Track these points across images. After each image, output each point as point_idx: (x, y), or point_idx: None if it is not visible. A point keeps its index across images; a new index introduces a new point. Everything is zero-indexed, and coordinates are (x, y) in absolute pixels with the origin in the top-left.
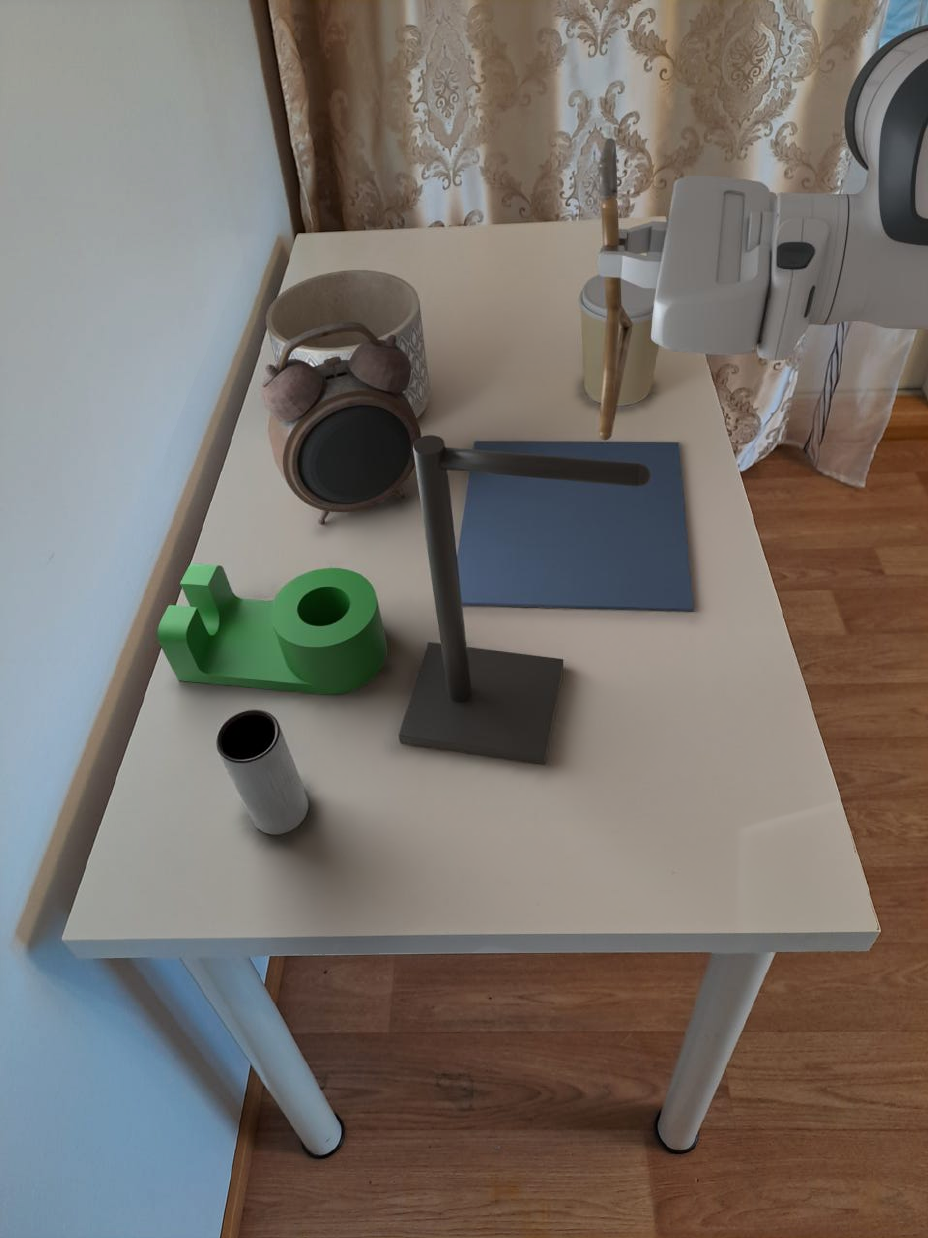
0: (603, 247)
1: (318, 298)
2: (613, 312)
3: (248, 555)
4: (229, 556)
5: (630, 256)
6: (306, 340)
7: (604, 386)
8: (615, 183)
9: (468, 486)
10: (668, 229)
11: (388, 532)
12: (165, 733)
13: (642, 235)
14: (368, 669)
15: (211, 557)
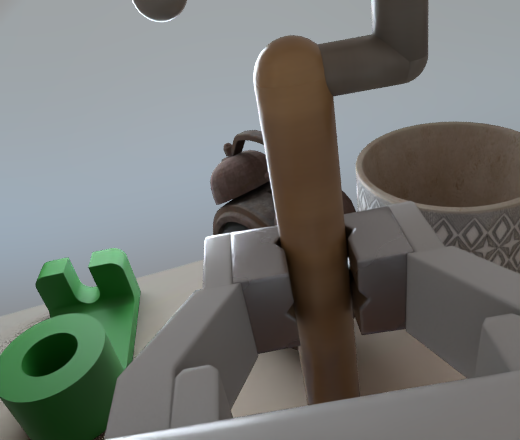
0: (264, 228)
1: (480, 147)
2: None
3: (201, 285)
4: (198, 275)
5: (178, 315)
6: (247, 138)
7: None
8: (390, 2)
9: None
10: (426, 389)
11: (257, 373)
12: (10, 324)
13: (469, 313)
14: (33, 437)
15: (195, 266)
